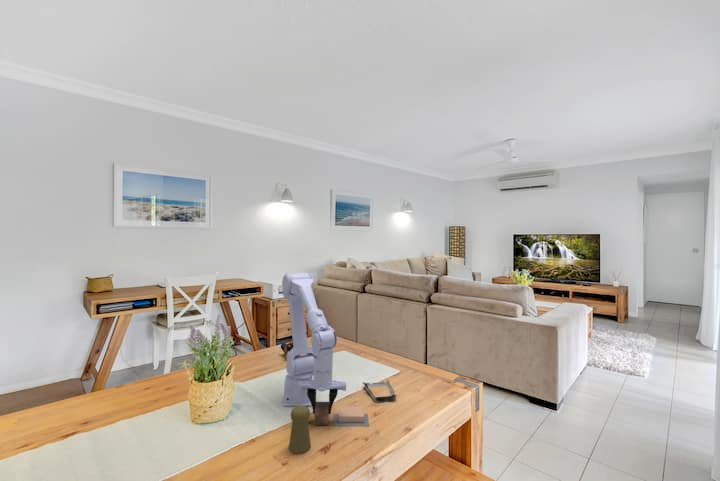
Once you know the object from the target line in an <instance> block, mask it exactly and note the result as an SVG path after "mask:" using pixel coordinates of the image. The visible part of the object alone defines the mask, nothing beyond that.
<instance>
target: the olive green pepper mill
mask: <svg viewBox="0 0 720 481" xmlns="http://www.w3.org/2000/svg"><path fill="white" fill-rule="evenodd" d="M291 409H292V410H291V412H290V419H291V421H292V424H291V430H290V435H289V436H290V438H289V442H288V451H289V452H290V453H291V454H293V455H303V454H306V453H308V452H310V450H311V446H312V445H311V444H312V443H311V436H310V435H311V434H310V426H309V419H310V417H311V411H310V410H311V409H309V406H302V405H300V406H293V408H291Z"/></svg>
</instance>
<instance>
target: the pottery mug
mask: <svg viewBox="0 0 720 481" xmlns="http://www.w3.org/2000/svg"><path fill="white" fill-rule="evenodd" d="M292 348H293V341H290V342H287V343H286V342H282V343H281V344H280V349H281V350H282V351H283V354H284V355H285V356H284V360H285V361H286V362H287V358H286V357H287V354H288V353H289V352H290V350H291V349H292ZM299 356H301V355H297V356H295V357H299Z"/></svg>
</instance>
